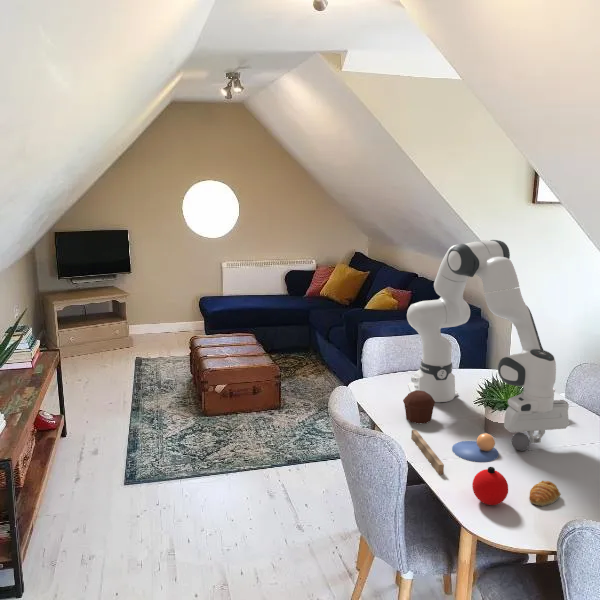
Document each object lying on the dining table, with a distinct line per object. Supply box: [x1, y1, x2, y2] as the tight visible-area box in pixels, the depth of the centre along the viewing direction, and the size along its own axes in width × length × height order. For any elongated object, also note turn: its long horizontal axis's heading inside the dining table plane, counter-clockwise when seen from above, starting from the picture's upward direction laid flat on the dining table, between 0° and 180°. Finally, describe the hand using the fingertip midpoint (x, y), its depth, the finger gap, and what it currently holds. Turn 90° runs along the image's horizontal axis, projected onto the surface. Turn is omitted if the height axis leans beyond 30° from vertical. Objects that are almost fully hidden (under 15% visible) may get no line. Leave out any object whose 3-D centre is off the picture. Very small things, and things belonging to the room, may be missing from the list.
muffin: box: [402, 390, 436, 425], centre depth 202 cm, size 12×11×10 cm
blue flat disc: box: [451, 440, 499, 463], centre depth 178 cm, size 14×14×1 cm
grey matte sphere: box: [510, 432, 531, 452], centre depth 178 cm, size 6×6×6 cm
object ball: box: [476, 432, 496, 451], centre depth 178 cm, size 6×6×6 cm
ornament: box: [471, 466, 509, 506], centre depth 148 cm, size 9×9×10 cm
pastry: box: [528, 480, 562, 507], centre depth 150 cm, size 9×7×4 cm
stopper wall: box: [410, 429, 445, 475], centre depth 175 cm, size 24×2×3 cm, turn 8°
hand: (534, 442), depth 180 cm, fingers closed
